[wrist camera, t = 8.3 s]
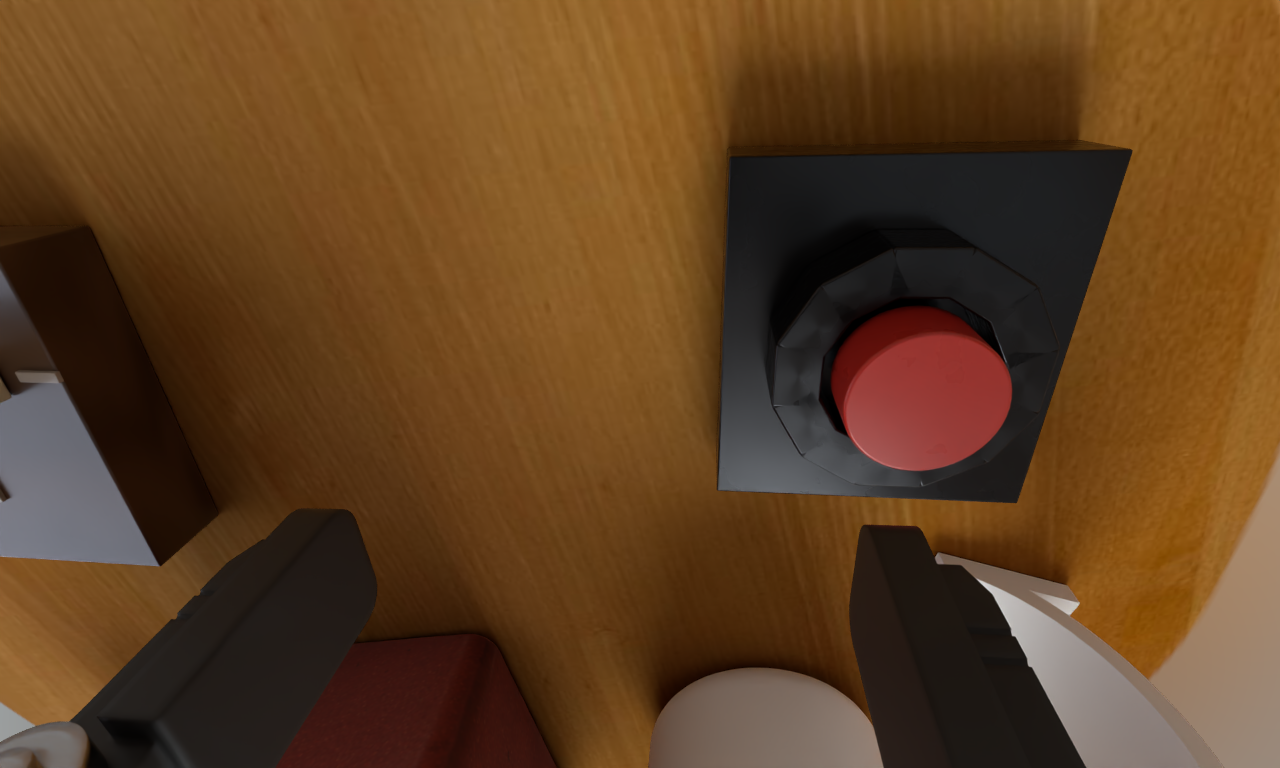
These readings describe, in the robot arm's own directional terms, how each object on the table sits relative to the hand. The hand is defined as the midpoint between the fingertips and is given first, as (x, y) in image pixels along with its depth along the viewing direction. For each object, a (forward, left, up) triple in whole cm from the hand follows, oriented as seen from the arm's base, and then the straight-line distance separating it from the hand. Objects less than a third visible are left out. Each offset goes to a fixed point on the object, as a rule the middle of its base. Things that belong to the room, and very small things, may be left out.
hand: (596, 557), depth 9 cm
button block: (0, +7, -11) cm, 12 cm away
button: (0, +7, -7) cm, 10 cm away
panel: (+3, -23, -11) cm, 26 cm away
